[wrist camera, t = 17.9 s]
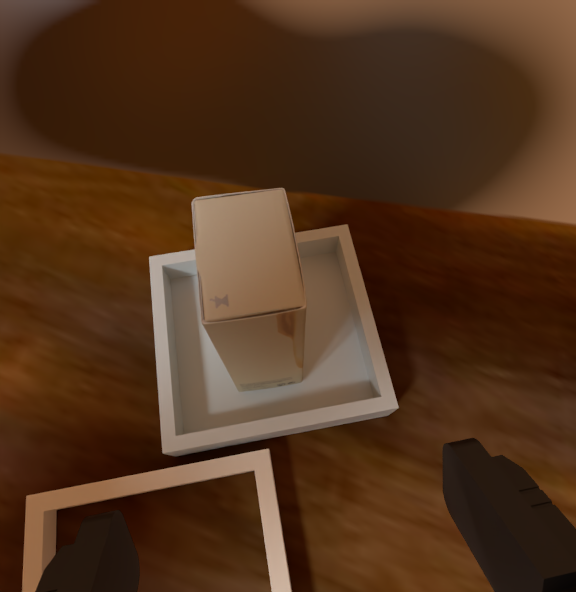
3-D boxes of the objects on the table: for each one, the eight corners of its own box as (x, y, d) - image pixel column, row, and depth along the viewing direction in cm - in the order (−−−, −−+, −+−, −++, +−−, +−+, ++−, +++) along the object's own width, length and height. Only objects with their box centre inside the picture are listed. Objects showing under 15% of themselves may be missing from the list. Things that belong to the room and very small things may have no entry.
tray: (388, 415, 28) (398, 407, 25) (175, 456, 27) (162, 453, 25) (342, 245, 33) (347, 224, 30) (161, 276, 32) (149, 256, 29)
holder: (308, 692, 23) (309, 705, 21) (31, 756, 22) (13, 774, 20) (269, 450, 27) (268, 448, 26) (40, 495, 27) (26, 495, 25)
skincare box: (304, 383, 28) (312, 316, 17) (237, 394, 28) (199, 333, 17) (289, 292, 31) (287, 181, 20) (227, 301, 31) (188, 194, 19)
